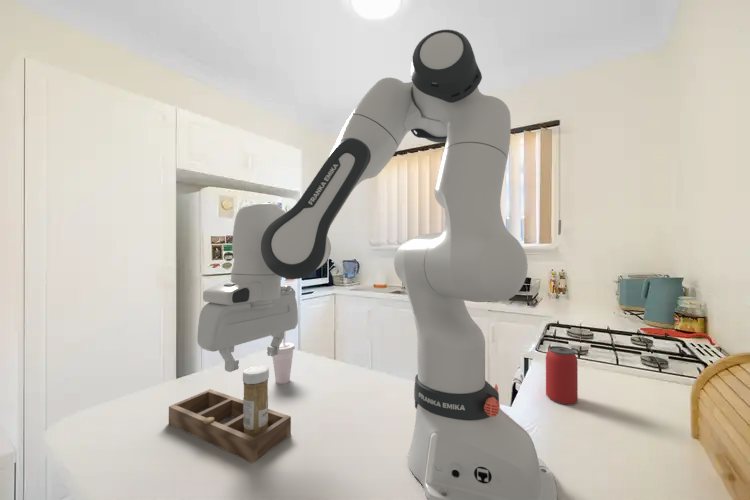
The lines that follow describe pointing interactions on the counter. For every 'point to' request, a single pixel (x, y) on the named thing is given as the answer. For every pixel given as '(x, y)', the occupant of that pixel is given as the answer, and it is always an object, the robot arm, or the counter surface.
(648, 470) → the counter surface
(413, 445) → the robot arm
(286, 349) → the smoothie
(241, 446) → the spice caddy
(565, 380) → the beer can
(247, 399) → the sprinkles bottle
